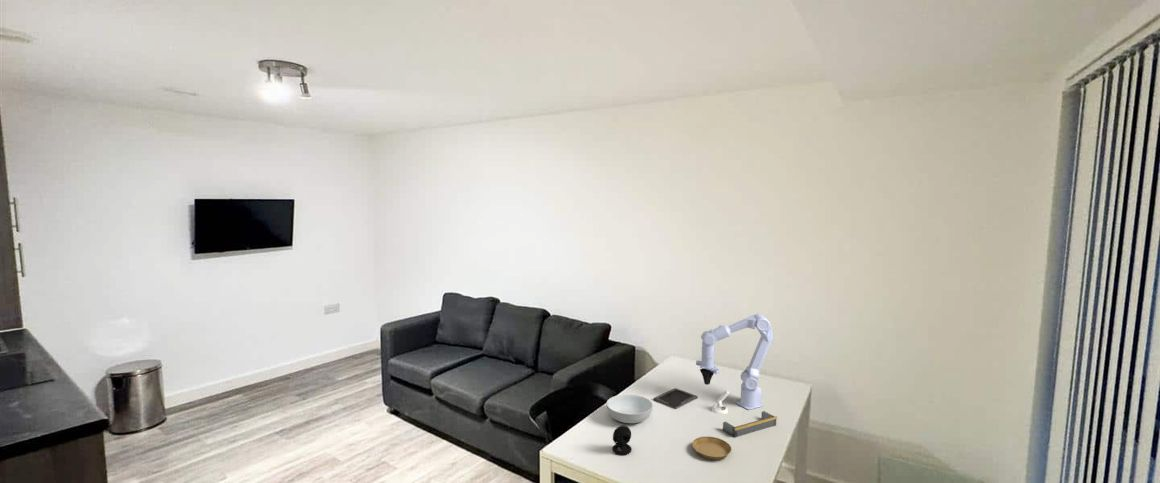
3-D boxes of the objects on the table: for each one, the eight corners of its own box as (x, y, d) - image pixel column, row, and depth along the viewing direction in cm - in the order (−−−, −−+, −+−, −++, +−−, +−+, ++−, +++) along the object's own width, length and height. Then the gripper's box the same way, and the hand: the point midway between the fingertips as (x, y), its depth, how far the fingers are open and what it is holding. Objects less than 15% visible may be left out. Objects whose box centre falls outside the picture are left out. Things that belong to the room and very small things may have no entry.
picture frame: (675, 410, 217) (697, 399, 229) (675, 406, 217) (697, 395, 229) (653, 401, 227) (675, 390, 239) (653, 397, 227) (675, 387, 239)
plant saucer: (725, 467, 170) (725, 460, 170) (686, 455, 178) (686, 449, 178) (735, 449, 183) (735, 442, 182) (698, 438, 191) (698, 432, 190)
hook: (741, 403, 211) (730, 396, 209) (724, 422, 214) (713, 415, 212) (734, 393, 218) (724, 386, 217) (718, 411, 221) (707, 405, 219)
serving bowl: (658, 412, 214) (658, 398, 213) (644, 433, 195) (644, 417, 194) (615, 404, 222) (615, 390, 222) (599, 423, 203) (599, 408, 203)
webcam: (617, 457, 176) (617, 432, 175) (608, 448, 183) (608, 423, 182) (635, 453, 179) (635, 428, 179) (626, 443, 186) (626, 420, 185)
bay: (763, 418, 208) (764, 410, 207) (776, 425, 201) (777, 416, 201) (722, 430, 197) (723, 421, 197) (735, 438, 191) (735, 428, 190)
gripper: (691, 353, 227) (690, 380, 228) (711, 362, 214) (711, 391, 215) (702, 351, 230) (702, 377, 231) (723, 360, 217) (722, 388, 218)
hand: (707, 383), depth 223 cm, fingers closed
